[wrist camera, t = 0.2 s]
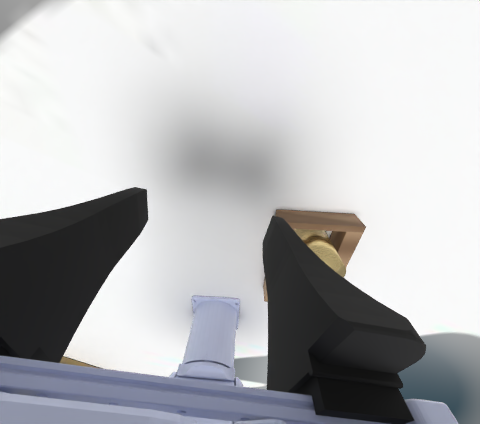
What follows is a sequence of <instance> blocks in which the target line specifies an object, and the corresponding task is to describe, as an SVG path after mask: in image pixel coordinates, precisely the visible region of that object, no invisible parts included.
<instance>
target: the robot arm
mask: <svg viewBox="0 0 480 424" xmlns="http://www.w3.org/2000/svg"><path fill="white" fill-rule="evenodd" d="M147 221H148V206H147V190H146V189H141V188H137V187H134V188H130V189H126V190H123V191H120V192H117V193H113V194H110V195H107V196H104V197H101V198H98V199H94V200H91V201H87V202H84V203H80V204H77V205H73V206H69V207H65V208H61V209H56V210H51V211H47V212H42V213H36V214H30V215H24V216H18V217H12V218H5V219H0V424H459V423H458V422H457V421H456V419H455V417H454V416H453V414H452V413H451V411H450V409H449V408H448V406H447V405H446V404H444V403H442V402H435V401H428V400H420V399H406V400H404V399H403V397H402V395H401V393H400V391H399V389H398V388H402V387H403V383H402V381H401V379H400V378H399V376H398V374H397V373H398V372H400V371H402V370H404V369H405V368H407V367H409V366H411V365H412V364H414V363H416V362H417V361H418V360H420V359H421V358H422V357H423V355H424V354H425V351H426V345H425V344H424V342H423V341H422V339H421V338H420V336H419V335H418V333H417V332H416V330H415V329H414V328H413V326H412V325H411V323H410V322H409V320H408V319H407V318H405V317H403V316H402V315H400V314H398V313H397V312H395V311H393V310H392V309H390V308H388V307H386V306H385V305H383V304H381V303H380V302H378V301H376V300H375V299H373V298H372V297H370V296H369V295H367V294H366V293H364V292H363V291H361V290H360V289H358V288H357V287H355V286H354V285H352V284H351V283H350V282H348V281H347V280H346V279H344V278H343V277H342V276H340V275H339V274H338V273H337V272H335V271H334V270H333V269H332V268H330V267H329V266H328V265H327V264H326V263H325V262H324V261H322V260H321V259H320V258H319V257H318V256H317V255H316V254H315V253H314V252H313V251H312V250H311V249H310V248H309V247H308V246H307V245H306V244H305V243H304V242H303V240H302V239H301V238H300V237H299V236H298V235H297V234H296V232H295V231H294V230H293V229H292V228H291V226H290V225H289V224H288V223H287V222H286V221H285V220H284V219H283V218H282V217H277V216H272V219H271V221H270V224H269V227H268V229H267V232H266V235H265V237H264V240H263V264H264V272H265V280H266V287H267V297H268V373H267V374H268V375H267V390H264V389H256V388H248V387H243V384H242V382H241V381H240V378H238V377H236V378H235V369H234V351H235V333H236V330H237V329H238V318H239V304H240V300H239V299H238V298H224V297H208V296H192V305H193V312H194V318H193V322H192V326H191V330H190V334H189V338H188V342H187V346H186V350H185V354H184V359H183V363H182V364H179V367H178V371H177V372H173V373H172V374H171V375H170V376H169V377H163V376H155V375H147V374H140V373H132V372H124V371H116V370H108V369H101V368H93V367H85V366H77V365H70V364H62V363H60V361H61V359H62V357H63V355H64V353H65V351H66V349H67V347H68V345H69V343H70V341H71V339H72V337H73V335H74V334H75V332H76V330H77V328H78V326H79V324H80V323H81V321H82V319H83V317H84V315H85V314H86V312H87V310H88V308H89V306H90V305H91V303H92V301H93V300H94V298H95V296H96V295H97V293H98V291H99V290H100V288H101V286H102V285H103V283H104V282H105V280H106V279H107V277H108V275H109V274H110V272H111V271H112V270H113V268H114V267H115V265H116V264H117V263H118V262H119V260H120V259H121V258H122V257H123V255H124V254H125V253H126V251H127V250H128V249H129V248H130V246H131V245H132V244H133V243H134V241H135V240H136V239H137V237H138V236H139V235H140V233H141V232H142V230H143V228H144V227H145V225H146V223H147Z"/></svg>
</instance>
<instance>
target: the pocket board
mask: <svg viewBox="0 0 480 424" xmlns="http://www.w3.org/2000/svg"><path fill="white" fill-rule="evenodd" d="M275 216H277V217H282V218H283V219H284V220H285V221H286V222H287V223H288V224H289V225H290V226H291V228H292V229H293V230H295V229H308V230H326V231H332V234H331V236H330V241H331V242H332V244H333V246H334V248H335V250H336V251H337V253H338V255H339V257H340V258H341V260H342V262H343V264H344V266H345V268H346V266H347V264H348V262H349V260H350V258H351V256H352V254H353V252H354V250H355V248H356V246H357V244H358V242H359V240H360V238H361V236H362V234H363V232H364V230H365V228H366V226H365V225H364V224H363V223H362V222H361V221H360V220H359V218H358V217H357V216H356V215H355V214H346V213H328V212H311V211H293V210H276V215H275ZM263 289H264V301H266V302H268V297H267V287H266V280H265V279H264V285H263Z"/></svg>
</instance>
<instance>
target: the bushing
mask: <svg viewBox="0 0 480 424" xmlns="http://www.w3.org/2000/svg"><path fill="white" fill-rule="evenodd" d="M294 231H295V232H296V234H297V235H298V236H299V237H300V238H301V239H302V240H303V242H304V243H305V244H306V245H307V246H308V247H309V248H310V249H311V250H312V251H313V252H314V253H315V254H316V255H317V256H318V257H319V258H320V259H321V260H322V261H324V262H325V263H326V264H327V265H328V266H329V267H330V268H332V269H333V270H334V271H335V272H337V273H338V274H339V275H340V276H342V277H344V276H345V274H346V268H345V266H344V264H343V262H342V260H341V258H340V257H339V255H338V253H337V251H336V250H335V248H334V246H333V244H332V242H331V241H330V239H329V237H328V235H327V233H326V232H325V230H308V229H295V230H294Z"/></svg>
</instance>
